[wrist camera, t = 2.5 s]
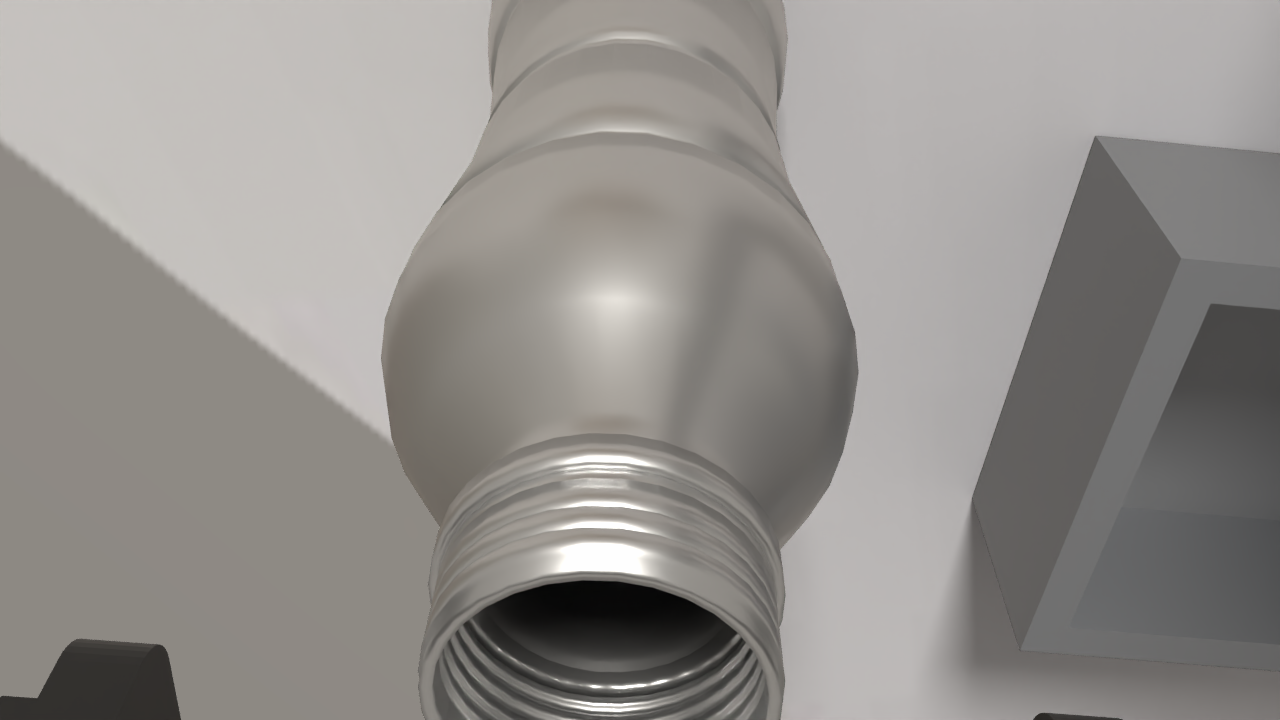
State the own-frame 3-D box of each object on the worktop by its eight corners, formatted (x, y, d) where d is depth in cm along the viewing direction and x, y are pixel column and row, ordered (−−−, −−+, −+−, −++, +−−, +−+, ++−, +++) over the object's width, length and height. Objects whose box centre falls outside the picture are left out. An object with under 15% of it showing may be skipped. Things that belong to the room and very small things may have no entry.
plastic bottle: (777, -155, 26) (968, 405, 9) (779, 135, 30) (919, 892, 13) (481, -132, 26) (167, 445, 10) (523, 151, 30) (348, 906, 14)
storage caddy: (1095, 135, 29) (1181, 258, 24) (1525, 177, 30) (1694, 306, 25) (972, 498, 36) (1019, 650, 31) (1323, 528, 37) (1424, 683, 32)
